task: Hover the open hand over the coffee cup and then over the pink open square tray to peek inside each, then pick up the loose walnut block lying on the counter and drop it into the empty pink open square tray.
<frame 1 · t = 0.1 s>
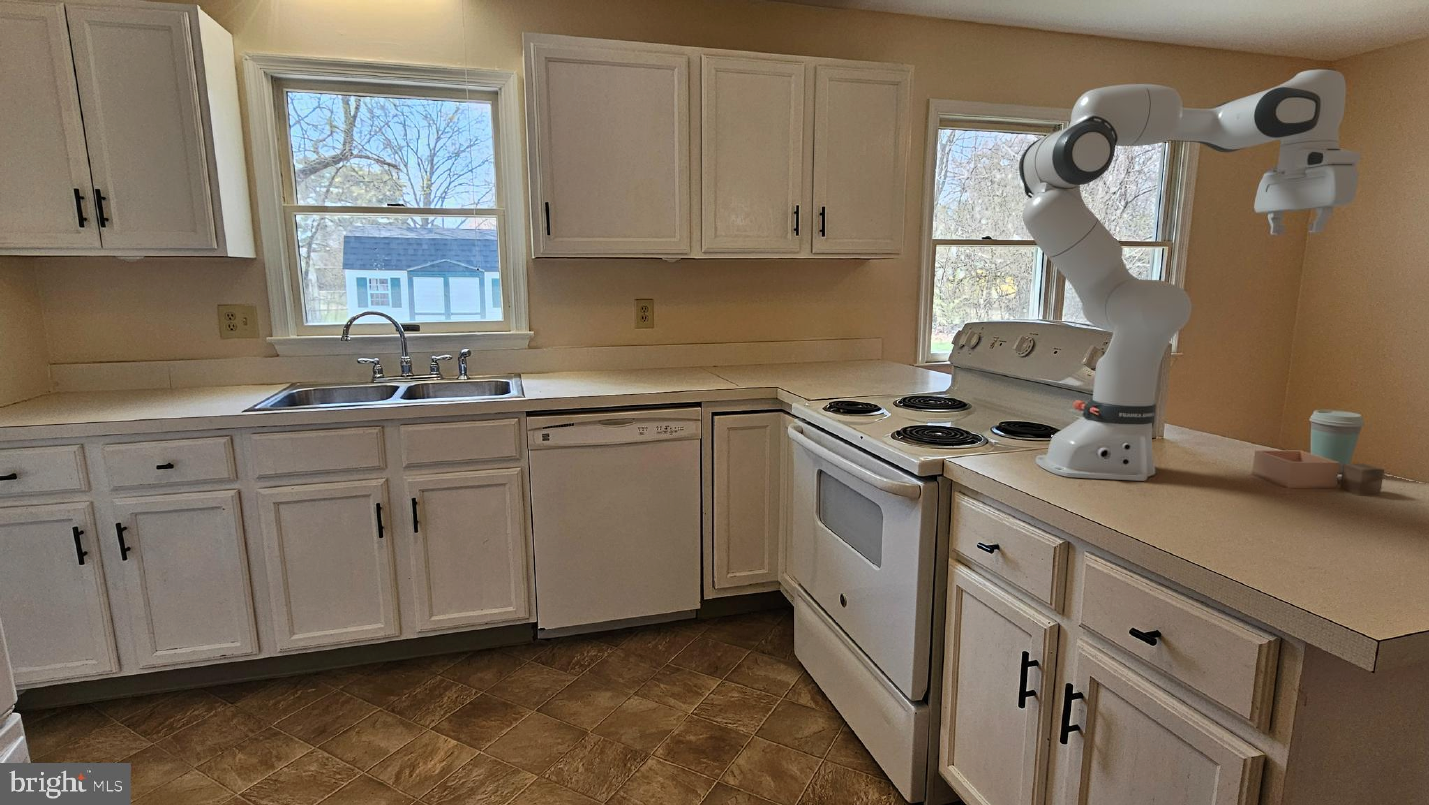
hand: (1295, 233, 141), 48 cm above the table, fingers open, 8 cm apart
pink open square tray: (1292, 480, 141), on the table
dark grey flat disc: (1356, 485, 139), on the table
coffee cup: (1328, 470, 149), on the table
walnut block: (1359, 492, 134), on the table
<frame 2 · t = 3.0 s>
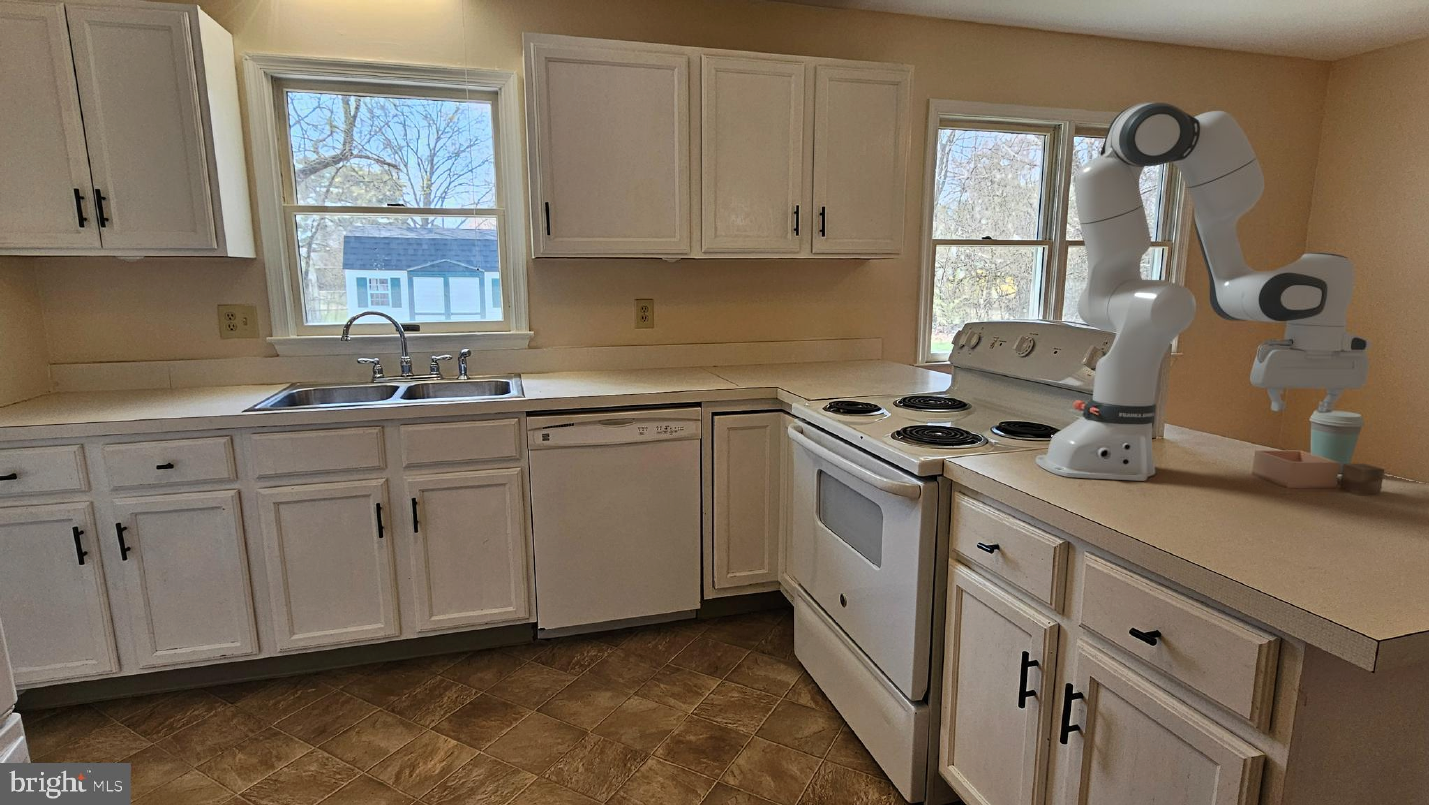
hand: (1301, 410, 139), 14 cm above the table, fingers open, 8 cm apart
nothing on the table moved.
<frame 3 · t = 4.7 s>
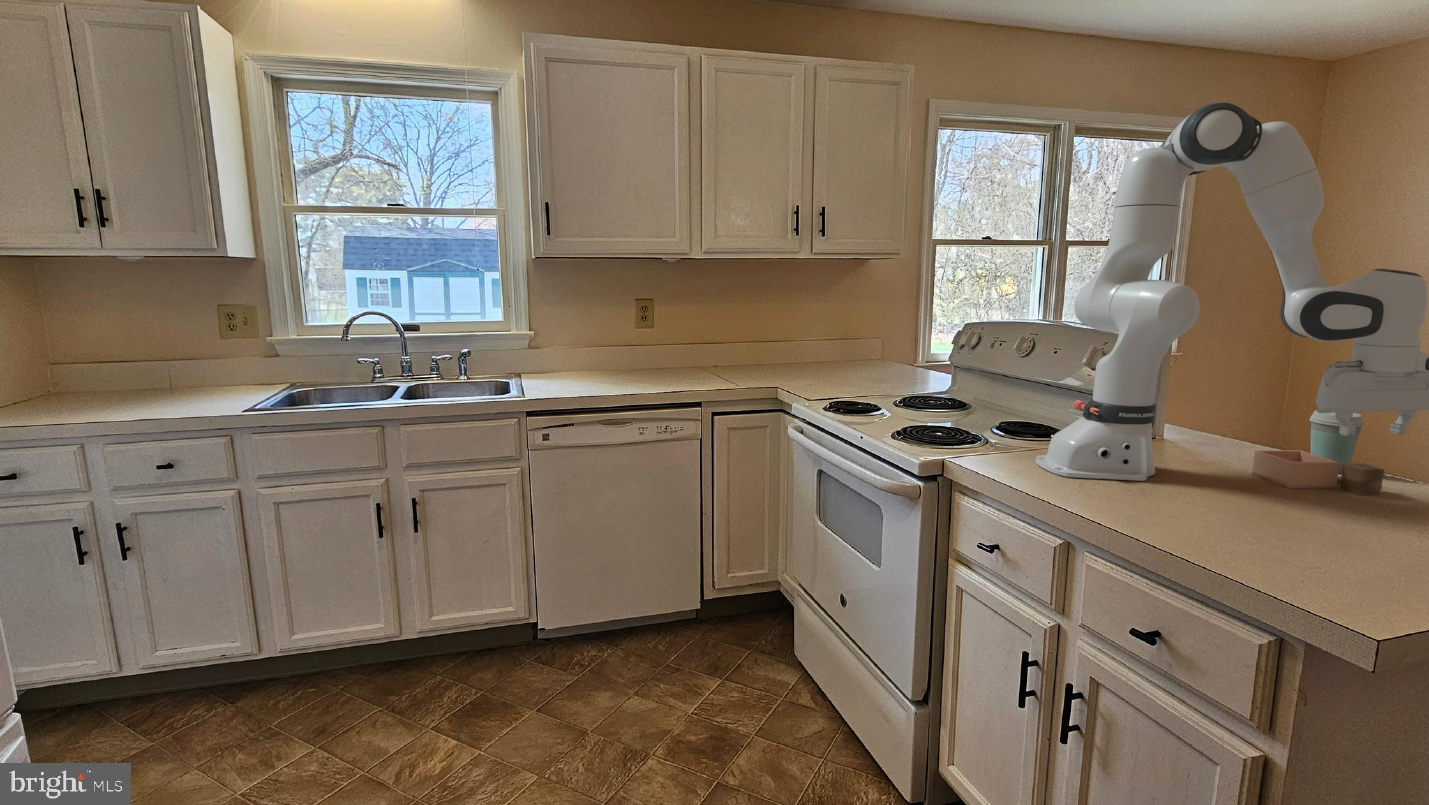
hand: (1372, 434, 132), 11 cm above the table, fingers open, 8 cm apart
nothing on the table moved.
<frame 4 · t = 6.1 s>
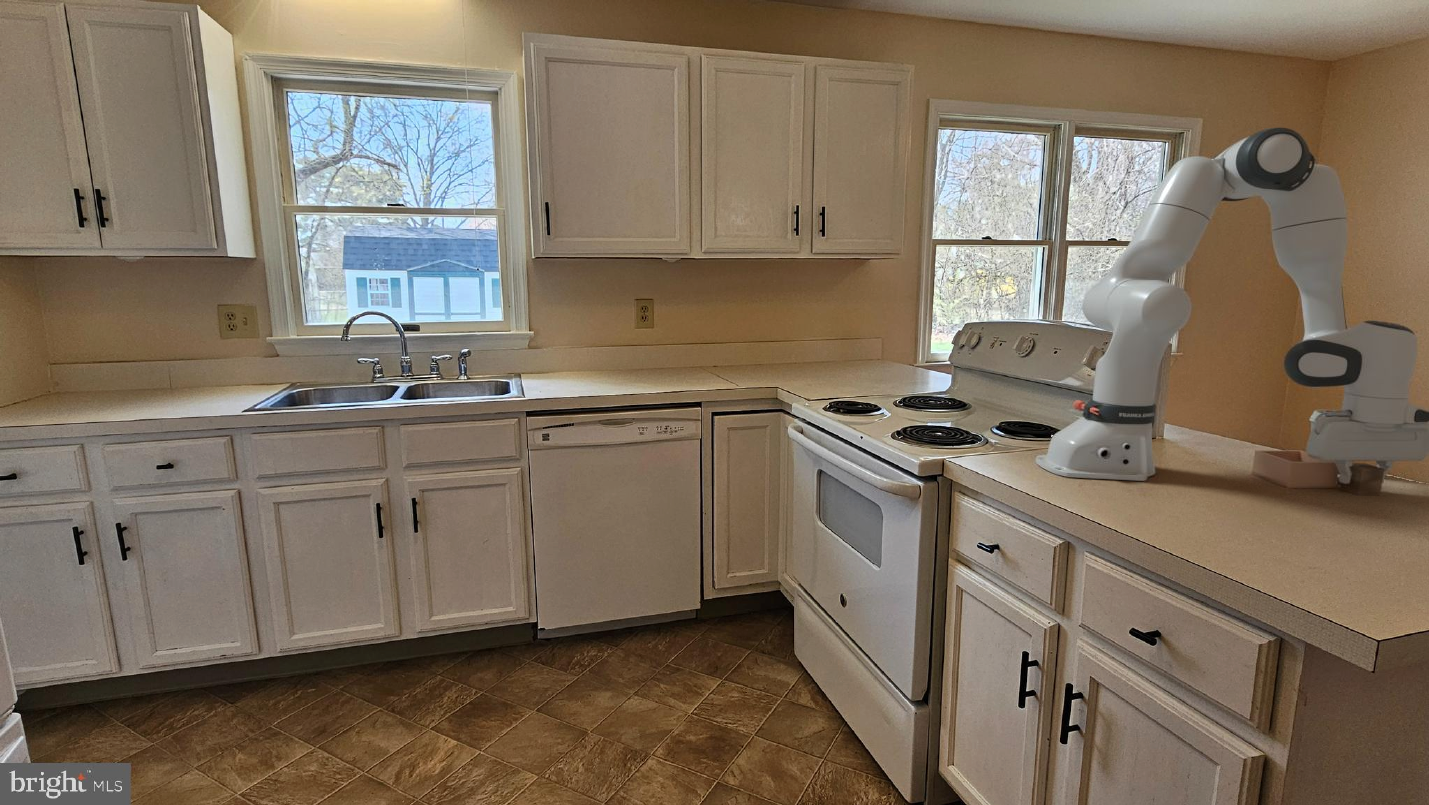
hand: (1360, 482, 134), 2 cm above the table, fingers closed on walnut block, 4 cm apart
walnut block: (1359, 491, 134), on the table, touching gripper
everything else where it was.
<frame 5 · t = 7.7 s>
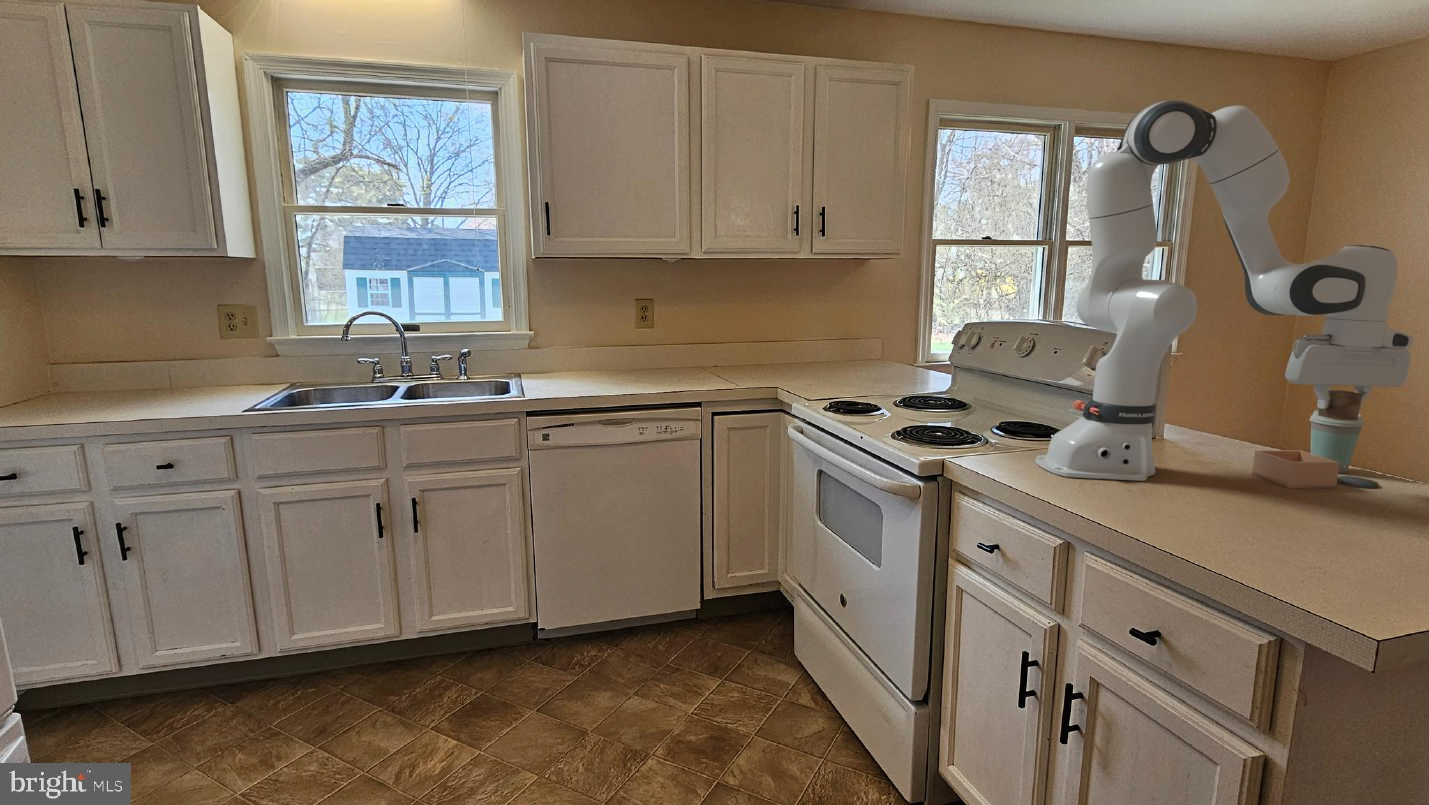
hand: (1338, 408, 134), 15 cm above the table, fingers closed on walnut block, 4 cm apart
walnut block: (1337, 417, 135), point 13 cm above the table, touching gripper
everything else where it was.
when the fingers open (8 cm above the table, at t = 9.6 s): walnut block drops 6 cm, resting on pink open square tray.
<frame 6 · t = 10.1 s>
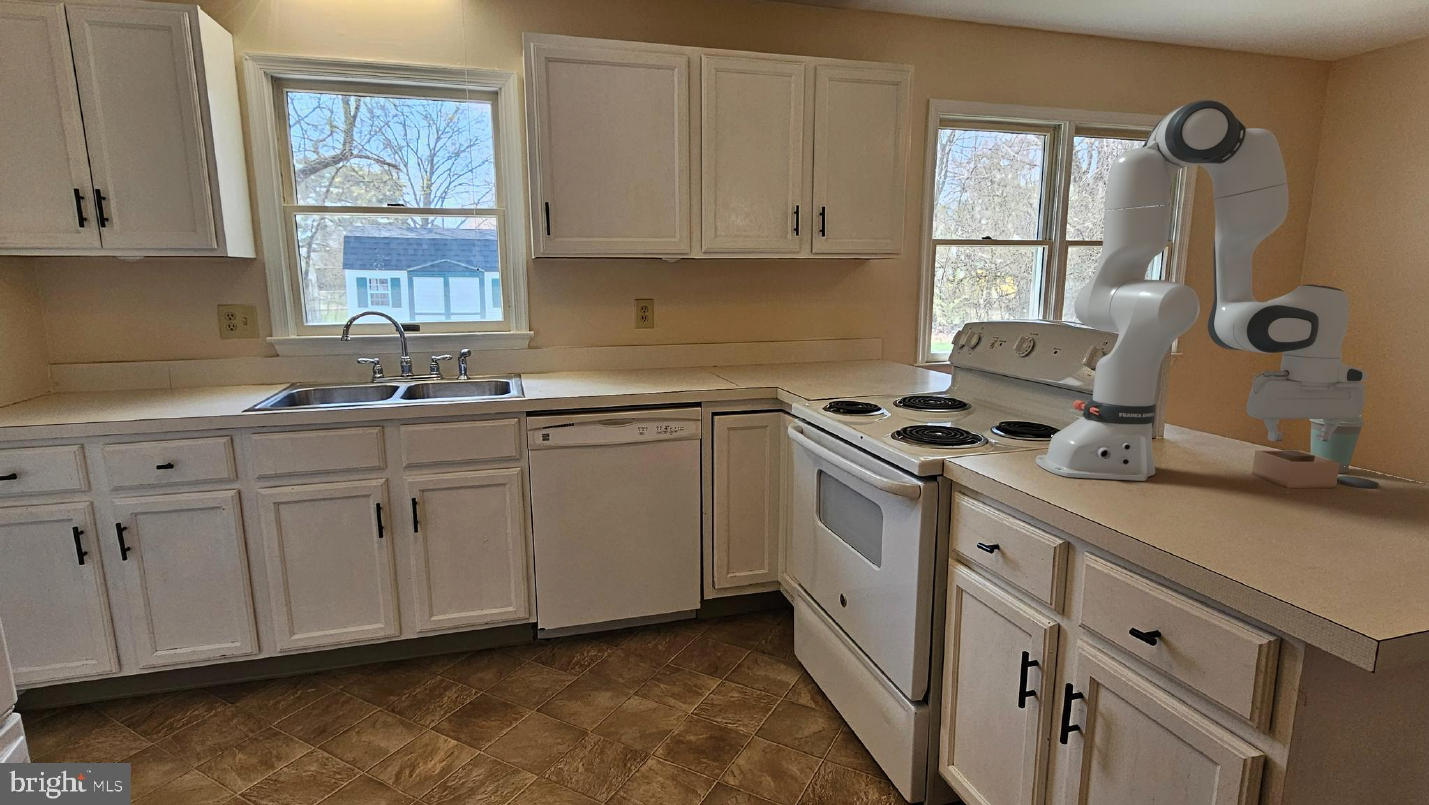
hand: (1298, 440, 139), 8 cm above the table, fingers open, 8 cm apart
walnut block: (1292, 477, 141), point 1 cm above the table, touching pink open square tray
everything else where it was.
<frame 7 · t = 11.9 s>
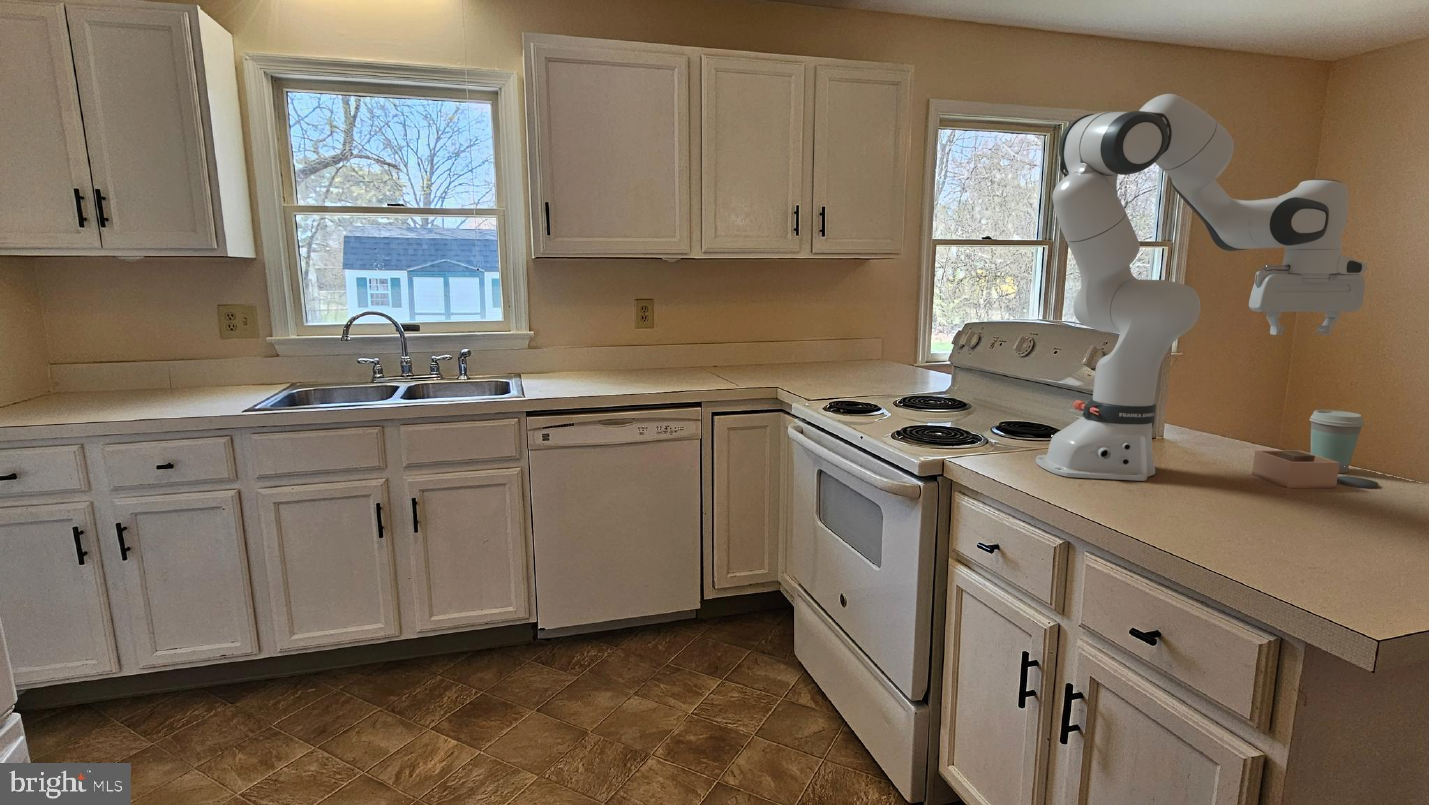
hand: (1300, 334, 144), 28 cm above the table, fingers open, 8 cm apart
nothing on the table moved.
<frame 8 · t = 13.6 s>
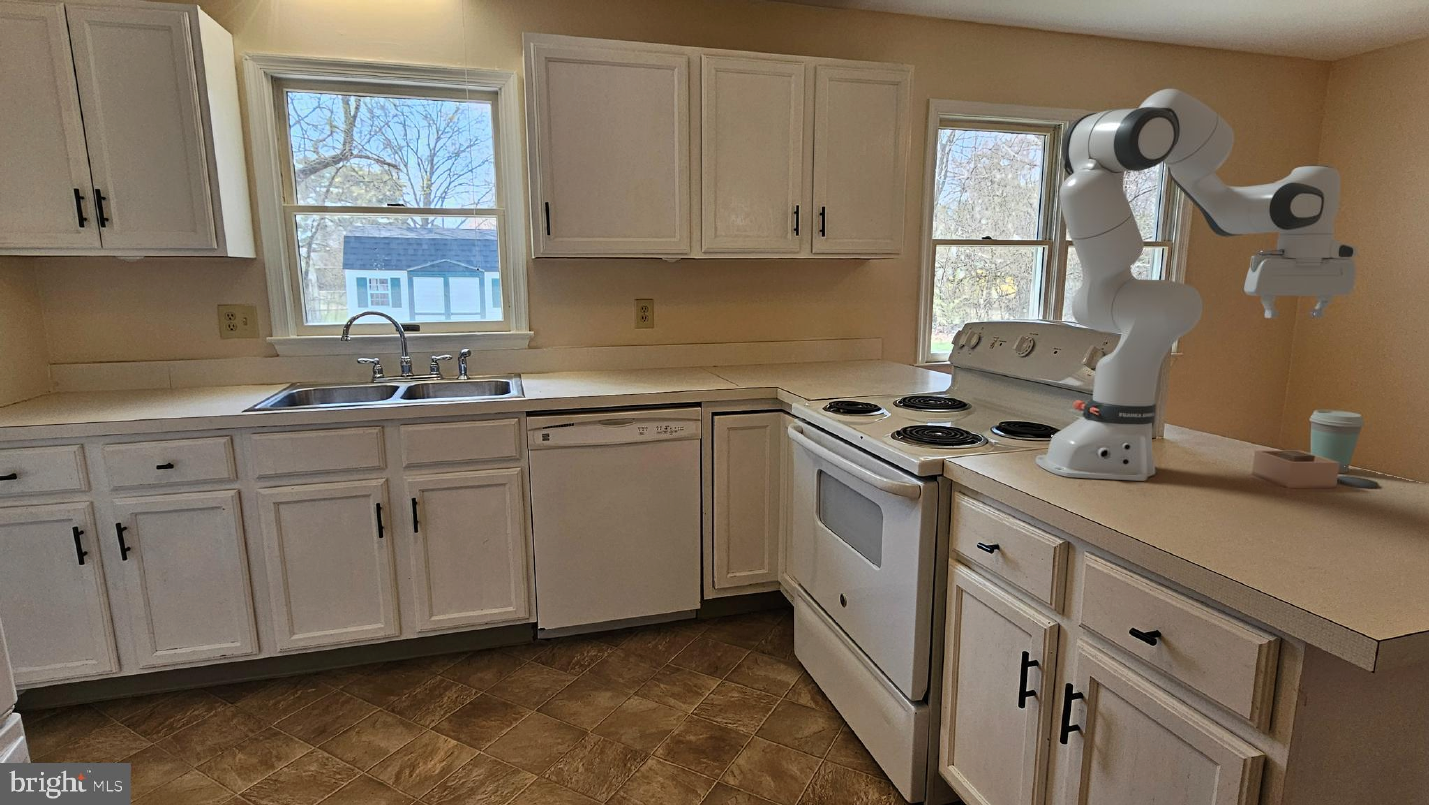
hand: (1293, 317, 148), 31 cm above the table, fingers open, 8 cm apart
nothing on the table moved.
at the end: walnut block 0.1 cm off-centre on the pink open square tray, point 0.6 cm above the pink open square tray's base; the gripper is holding nothing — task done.
